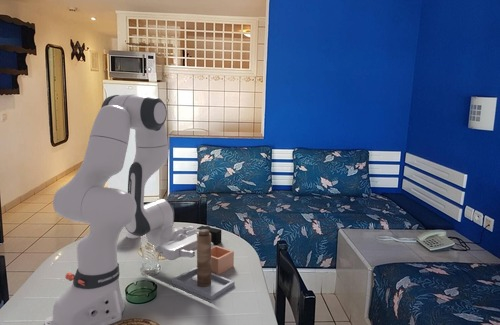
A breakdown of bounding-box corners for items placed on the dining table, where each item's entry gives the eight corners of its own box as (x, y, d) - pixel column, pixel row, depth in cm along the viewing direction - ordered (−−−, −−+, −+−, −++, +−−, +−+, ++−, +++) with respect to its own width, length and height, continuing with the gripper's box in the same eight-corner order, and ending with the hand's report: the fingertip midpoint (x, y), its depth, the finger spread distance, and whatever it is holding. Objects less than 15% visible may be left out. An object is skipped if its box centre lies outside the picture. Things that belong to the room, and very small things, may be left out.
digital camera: (223, 243, 174) (223, 228, 172) (216, 247, 169) (216, 232, 168) (203, 239, 178) (203, 224, 177) (196, 243, 174) (196, 228, 172)
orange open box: (218, 277, 143) (218, 259, 141) (200, 270, 148) (200, 252, 146) (233, 268, 150) (233, 251, 148) (215, 262, 155) (215, 245, 154)
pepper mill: (204, 288, 132) (204, 234, 129) (194, 284, 135) (193, 231, 132) (214, 283, 136) (214, 230, 133) (203, 278, 139) (203, 227, 135)
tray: (211, 302, 126) (211, 295, 125) (172, 285, 136) (172, 278, 135) (234, 288, 135) (234, 281, 135) (196, 273, 145) (196, 266, 145)
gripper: (152, 240, 133) (180, 251, 125) (194, 224, 149) (222, 233, 141) (152, 258, 134) (180, 269, 126) (194, 240, 151) (221, 249, 143)
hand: (203, 250), depth 134 cm, fingers open, 8 cm apart
